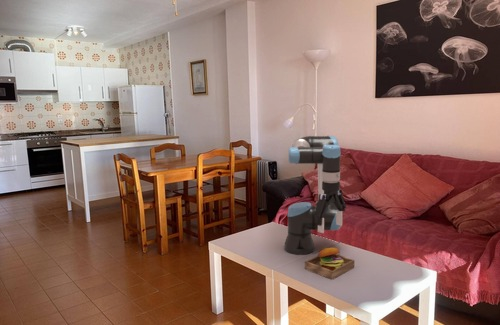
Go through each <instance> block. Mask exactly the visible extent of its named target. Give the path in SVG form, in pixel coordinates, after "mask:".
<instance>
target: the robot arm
mask: <svg viewBox="0 0 500 325" xmlns="http://www.w3.org/2000/svg"><path fill="white" fill-rule="evenodd" d="M341 155H342V153H341V146H340V145H339V142H338V138H337V137H336V136H333V135H326V136H325V135H323V136H322V135H319V136H318V135H317V136H316V135H312V136H311V135H309V136H307V135H306V136H303V137H300V138H298V139H296V140H294V141H293V143H292V146H290V147H289V148H288V162H289V164H295V165H297V164H301V165H302V164H303V165H304V164H309V165H310V164H311V165H312V164H313V165H315V164H316V165H317V191H318V192H317V193H318V194H317V195H318V196H317V197H318V200H317V201H316V202H315V205H312V203H311V202H308V201H307V202H306V201H304V202H303V201H301V202H296V203H292V204H291V205H289V206H288V208H287V236H286V239H285V242H284V248H283V249H284V250H285V251H286V252H287V253H289V254H292V255H293V254H294V255H309V254H311V253H313V252H314V251H315V248H316V247H315V242H314V239H313V235H312V230H313V231H317V233H321V234H324V233H325V231H330V232H331V231H338V230H340V228H341V227H343V213H344V212H345V211H346V208H347V206H346V202H345V199H344V196H343V189H341V182H340V180H341Z"/></svg>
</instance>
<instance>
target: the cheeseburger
mask: <svg viewBox="0 0 500 325" xmlns="http://www.w3.org/2000/svg"><path fill="white" fill-rule="evenodd" d="M340 253H341V251H340V250H339V249H338V248H337V247H331V246H330V247H324V248H323V249H321V250H320V251H319V253H318V255H319V257H321V261H320V265H321V266H322V267H323V268H326V269H329V270H335V269H336V268H338V267H340V266H342V265H343V264H342V263H343V262H344V261H343V259H342V258H340V257H338V256H341V254H340ZM336 254H337V255H336Z"/></svg>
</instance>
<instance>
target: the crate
mask: <svg viewBox="0 0 500 325" xmlns="http://www.w3.org/2000/svg"><path fill="white" fill-rule="evenodd" d="M336 255H338V254H336ZM338 257H340V258H342V259H343V261H344V262H343V263H342V264H343V265H342V266H340V267H338V268H336V269H335V270H329V269H326V268H323V267H322V266H321V265H320V261H321V257H319V254H318V255H317V256H314V257H312V258H309V259H308V260H306V261H304V269H305V270H306V271H309V272H311V271H312V273H314V274H318V275H319V274H320V275H319V276H322V275H323V276H322V277H324V276H325V278H327V279H329V278H330V279H329V280H332V279H333V280H334V278H335V279H336V278H338V277H339V276H342V275H343V274H345V273H347V272H350V270H352V269H354V268H355V259H352V258H349V257H347V256H343V255H340V256H338Z"/></svg>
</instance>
